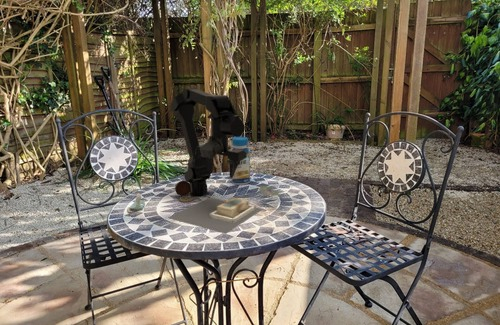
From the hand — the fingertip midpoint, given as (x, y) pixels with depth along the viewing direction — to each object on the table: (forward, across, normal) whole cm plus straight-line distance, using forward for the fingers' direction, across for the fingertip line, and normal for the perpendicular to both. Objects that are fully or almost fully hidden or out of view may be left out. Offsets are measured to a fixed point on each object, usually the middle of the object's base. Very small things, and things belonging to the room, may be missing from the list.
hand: (220, 175), depth 122 cm
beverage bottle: (+12, -10, +27) cm, 31 cm away
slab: (+10, +9, -5) cm, 15 cm away
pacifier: (+12, -25, -18) cm, 33 cm away
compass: (+12, -15, -2) cm, 19 cm away
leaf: (+12, +10, +17) cm, 23 cm away
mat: (+11, +4, -8) cm, 14 cm away
